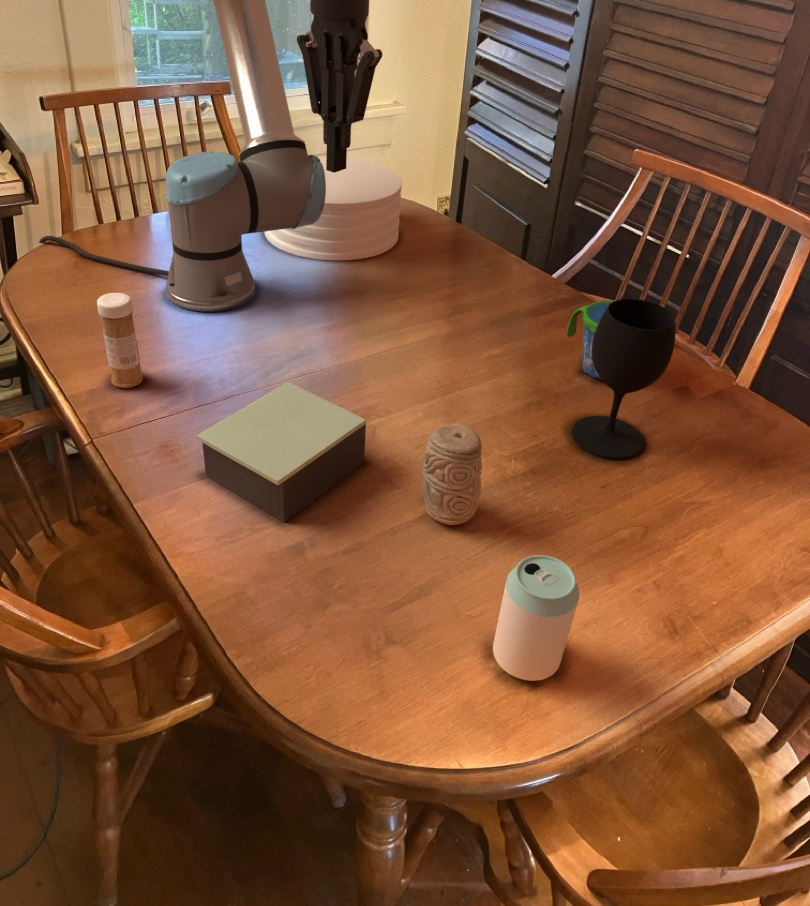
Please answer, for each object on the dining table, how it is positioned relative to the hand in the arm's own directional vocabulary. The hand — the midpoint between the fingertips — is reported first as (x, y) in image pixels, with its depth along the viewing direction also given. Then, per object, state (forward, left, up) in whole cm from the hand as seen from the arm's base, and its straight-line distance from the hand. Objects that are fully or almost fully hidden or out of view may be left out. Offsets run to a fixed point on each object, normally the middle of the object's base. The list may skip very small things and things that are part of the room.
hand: (336, 169), depth 115 cm
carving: (+28, -35, -28) cm, 53 cm away
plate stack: (-16, +43, -28) cm, 54 cm away
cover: (+6, -34, -22) cm, 41 cm away
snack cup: (+44, +8, -28) cm, 53 cm away
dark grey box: (+6, -34, -28) cm, 45 cm away
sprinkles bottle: (-24, -23, -29) cm, 44 cm away
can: (+41, -54, -28) cm, 74 cm away
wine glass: (+46, -11, -28) cm, 55 cm away
